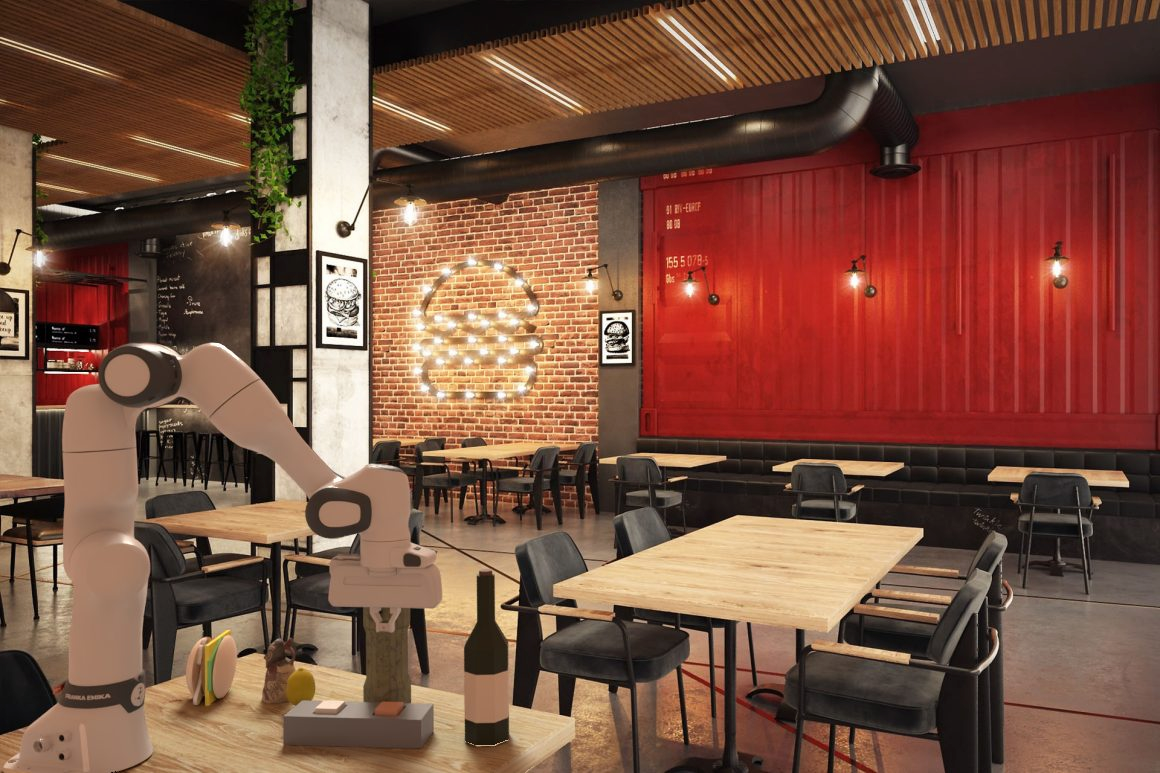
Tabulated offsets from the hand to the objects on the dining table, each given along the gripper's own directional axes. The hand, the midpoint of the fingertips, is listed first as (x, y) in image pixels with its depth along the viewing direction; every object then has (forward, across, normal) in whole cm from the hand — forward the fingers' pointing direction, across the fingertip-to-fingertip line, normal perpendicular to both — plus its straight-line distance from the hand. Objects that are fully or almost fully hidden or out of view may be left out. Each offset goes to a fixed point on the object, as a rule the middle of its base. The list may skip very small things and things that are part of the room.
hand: (385, 631), depth 155 cm
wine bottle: (+19, +18, +2) cm, 27 cm away
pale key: (+17, -10, 0) cm, 20 cm away
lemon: (+20, -22, +14) cm, 32 cm away
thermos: (+19, -3, +10) cm, 22 cm away
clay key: (+17, +1, 0) cm, 17 cm away
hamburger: (+20, -44, +20) cm, 52 cm away
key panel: (+19, -5, 0) cm, 20 cm away
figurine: (+20, -29, +20) cm, 40 cm away
